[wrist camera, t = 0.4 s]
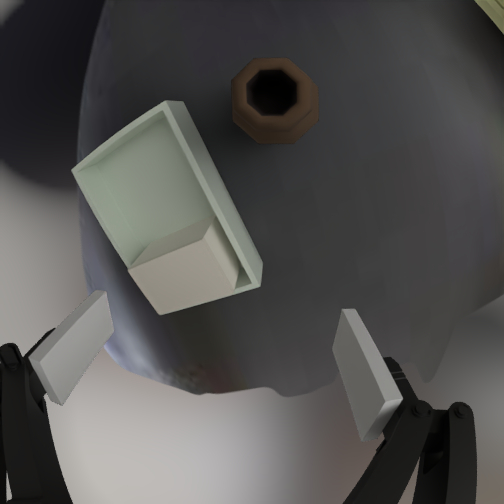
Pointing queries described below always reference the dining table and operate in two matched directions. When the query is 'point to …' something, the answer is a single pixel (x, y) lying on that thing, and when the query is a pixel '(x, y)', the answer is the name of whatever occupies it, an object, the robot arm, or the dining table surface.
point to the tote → (161, 188)
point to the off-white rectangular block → (187, 267)
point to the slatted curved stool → (494, 11)
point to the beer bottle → (274, 101)
